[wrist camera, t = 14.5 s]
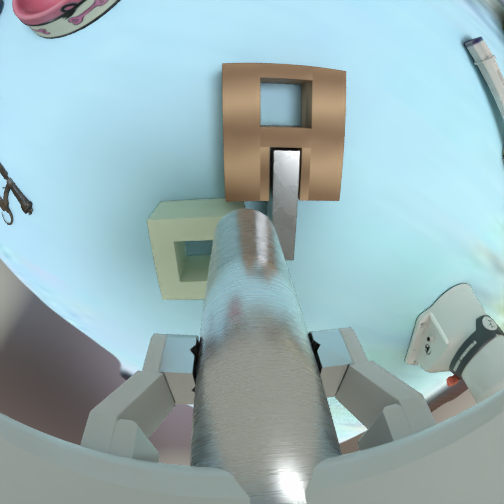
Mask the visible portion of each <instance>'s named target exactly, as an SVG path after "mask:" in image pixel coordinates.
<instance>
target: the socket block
mask: <svg viewBox="0 0 504 504" xmlns="http://www.w3.org/2000/svg"><path fill="white" fill-rule="evenodd" d="M260 83H284V84H299V85H302V93H301V126H277V125H260ZM222 95H223V145H224V178H225V202H235V201H269V165H270V147H289V148H295V149H297V150H299V151H300V159H299V182H298V199H299V200H316V201H339V198H340V188H341V178H342V166H343V152H344V136H345V113H346V71H342V70H335V69H328V68H321V67H312V66H302V65H290V64H273V63H223V64H222Z"/></svg>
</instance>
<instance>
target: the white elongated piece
mask: <svg viewBox="0 0 504 504" xmlns="http://www.w3.org/2000/svg"><path fill="white" fill-rule="evenodd" d="M464 44H465V46H466V47H467V49H468V50H469V52H470V54H471V55H472V57H473V59H474V61H475V62H474V64H475V65H477V66H478V68H479V69H480V71H481V73H482V75H483V77H484V79H485V81H486V82H487V84H488V86H489V88H490V91H491V93H492V95H493V97H494V99H495V101H496V103H497V106H498V108H499V110H500V113H501V115H502V118H503V120H504V78H503V76H502V74H501V71H500V69H499V67H498V65H497V63H496V61H495V58H496V57H495V56H494V55H492V53H491V51H490V50H489V48H488V46H487V45H486V43H485V41H484V40H483V38H482V37H478V38H474V39H472V40H470V41H468V42H466V43H464ZM503 153H504V149H503ZM503 161H504V159H503Z"/></svg>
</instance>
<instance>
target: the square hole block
mask: <svg viewBox="0 0 504 504" xmlns="http://www.w3.org/2000/svg"><path fill="white" fill-rule="evenodd" d="M238 209H245V203H244V201H235V202H225V198H214V199H194V200H177V201H162V202H160V203H159V204H158V206H157V207H156V208H155V210H154V211H153V213H152V214H151V215H150V217H149V218H148V219H147V225H148V231H149V236H150V242H151V247H152V253H153V258H154V263H155V268H156V273H157V277H158V282H159V286H160V291H161V295H162V299H163V300H187V299H205V294H206V286H207V278H208V271H209V264H210V257H211V255H189V256H187V252H186V244H185V241H201V240H213V237H214V231H215V228H216V226H217V224H218V222H219V221H220V220H221V219H222V217H224V216H225V215H226V214H228V213H230V212H232V211H234V210H238Z"/></svg>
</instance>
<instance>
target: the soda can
mask: <svg viewBox="0 0 504 504" xmlns="http://www.w3.org/2000/svg"><path fill="white" fill-rule="evenodd" d="M2 8H3V2H2V0H0V13H1V11H2Z"/></svg>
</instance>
